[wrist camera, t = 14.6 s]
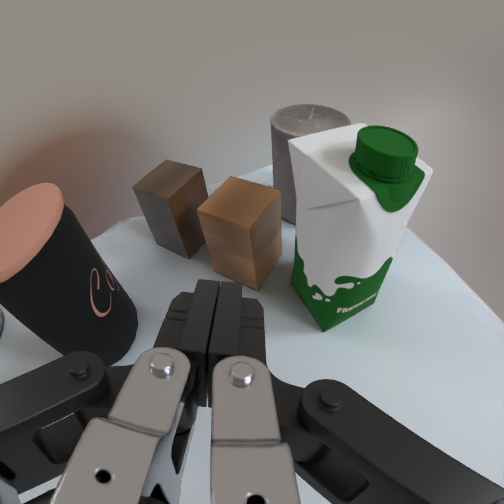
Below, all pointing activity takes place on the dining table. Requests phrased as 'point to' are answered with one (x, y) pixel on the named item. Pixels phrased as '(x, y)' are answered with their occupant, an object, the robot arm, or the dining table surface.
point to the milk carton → (350, 214)
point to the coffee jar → (61, 278)
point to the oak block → (243, 230)
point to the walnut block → (174, 205)
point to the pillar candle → (289, 127)
